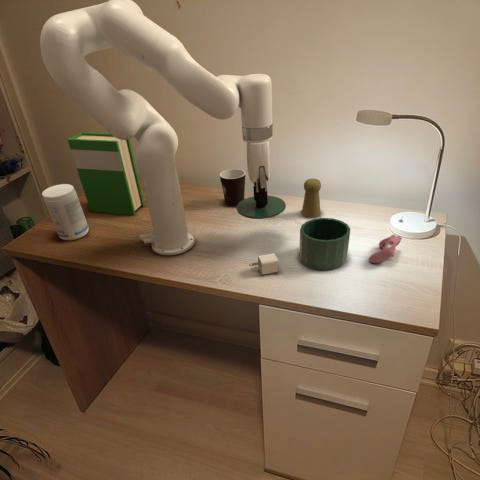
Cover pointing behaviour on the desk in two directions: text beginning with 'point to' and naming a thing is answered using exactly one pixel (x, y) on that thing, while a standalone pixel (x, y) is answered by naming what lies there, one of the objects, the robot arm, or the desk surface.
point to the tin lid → (261, 208)
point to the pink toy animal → (386, 249)
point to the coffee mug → (233, 186)
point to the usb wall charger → (266, 264)
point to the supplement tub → (65, 211)
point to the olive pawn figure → (311, 199)
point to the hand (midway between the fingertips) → (260, 201)
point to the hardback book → (107, 172)
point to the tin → (324, 243)
